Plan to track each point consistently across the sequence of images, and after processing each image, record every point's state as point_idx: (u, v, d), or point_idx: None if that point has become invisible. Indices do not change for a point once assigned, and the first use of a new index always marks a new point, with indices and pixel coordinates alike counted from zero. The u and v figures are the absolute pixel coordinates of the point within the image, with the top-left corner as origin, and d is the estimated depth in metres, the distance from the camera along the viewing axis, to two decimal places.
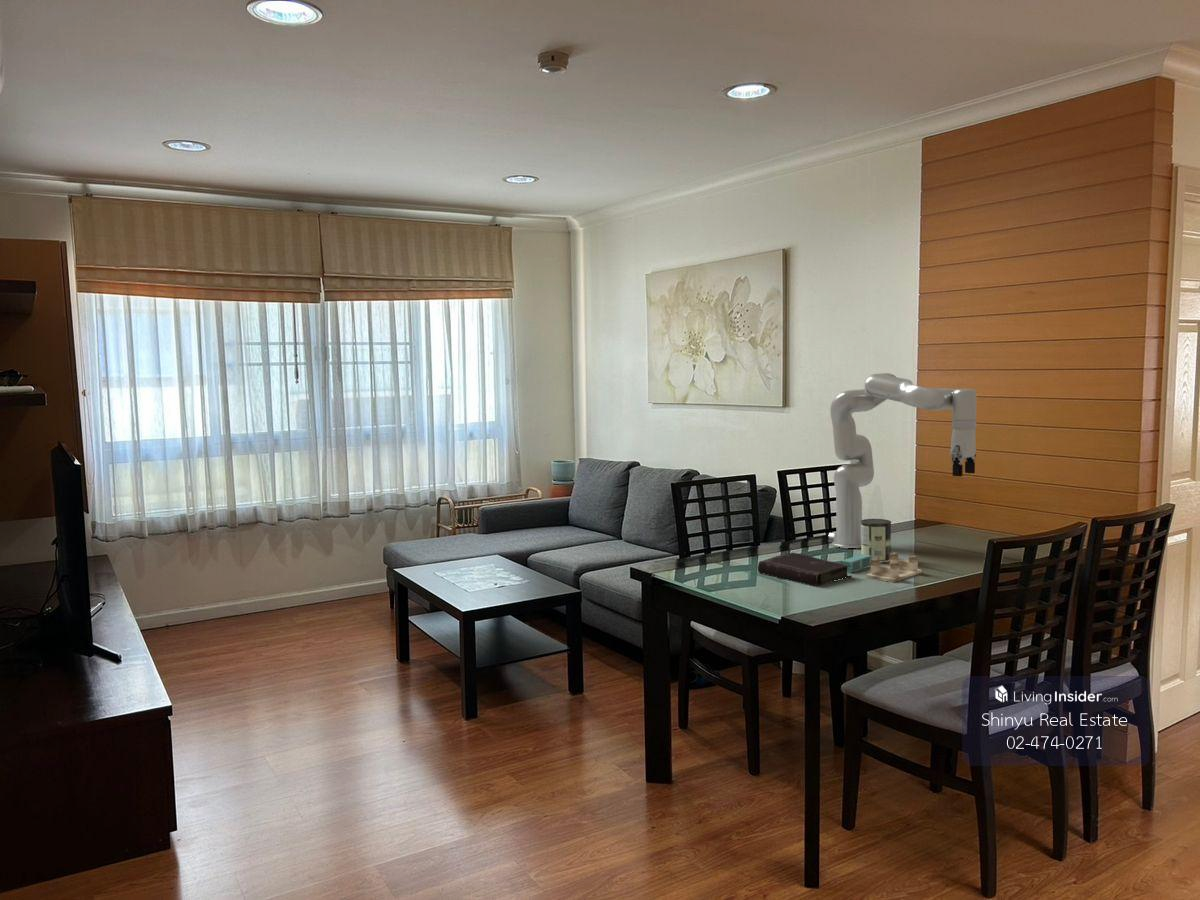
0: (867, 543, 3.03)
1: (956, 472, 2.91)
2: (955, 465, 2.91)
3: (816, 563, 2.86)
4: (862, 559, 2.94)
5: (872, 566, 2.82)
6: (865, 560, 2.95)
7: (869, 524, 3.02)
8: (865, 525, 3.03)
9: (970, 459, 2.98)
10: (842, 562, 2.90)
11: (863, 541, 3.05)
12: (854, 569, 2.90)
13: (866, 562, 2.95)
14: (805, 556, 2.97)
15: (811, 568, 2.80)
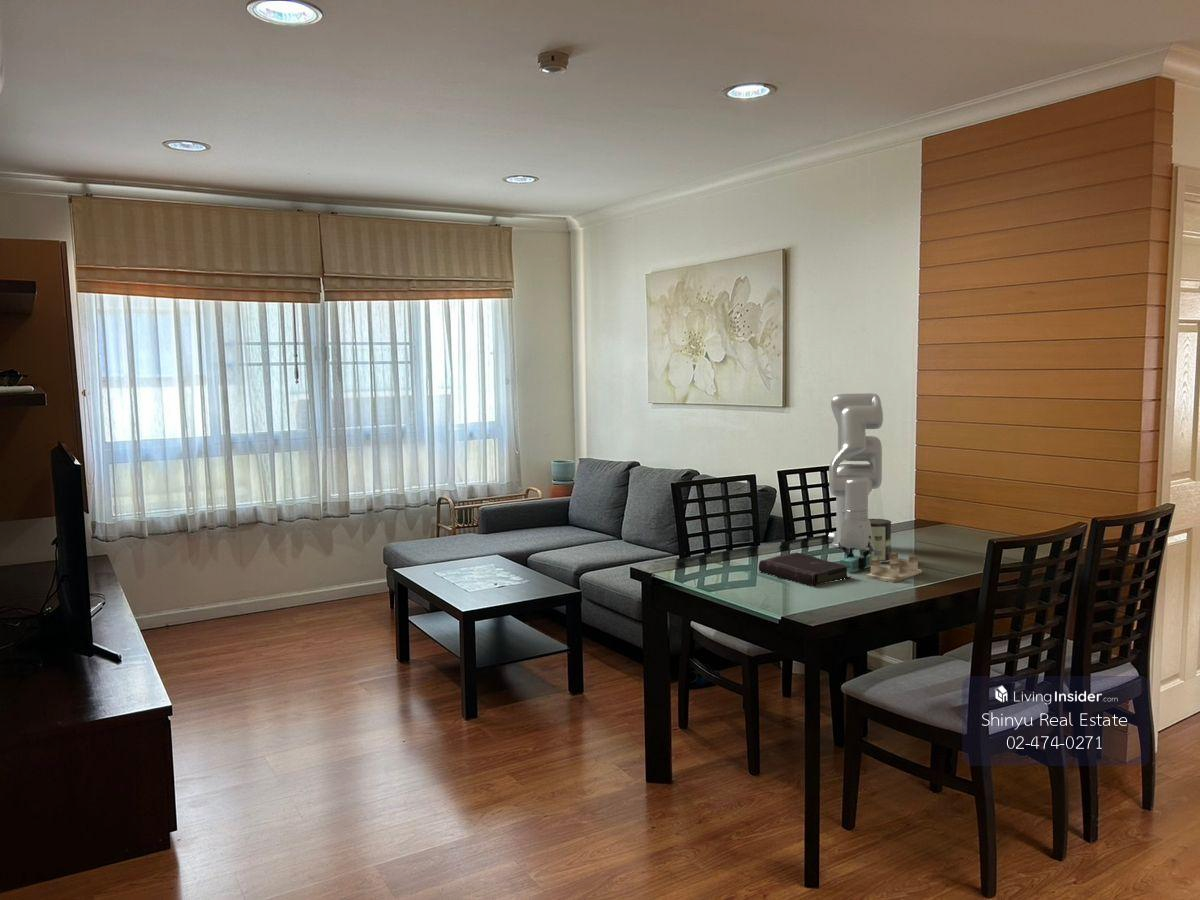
0: None
1: (864, 565, 2.92)
2: (864, 558, 2.92)
3: (816, 563, 2.86)
4: None
5: (872, 566, 2.82)
6: None
7: None
8: None
9: (851, 552, 2.96)
10: (842, 561, 2.90)
11: None
12: (853, 569, 2.90)
13: (866, 561, 2.95)
14: (808, 556, 2.96)
15: (809, 568, 2.80)
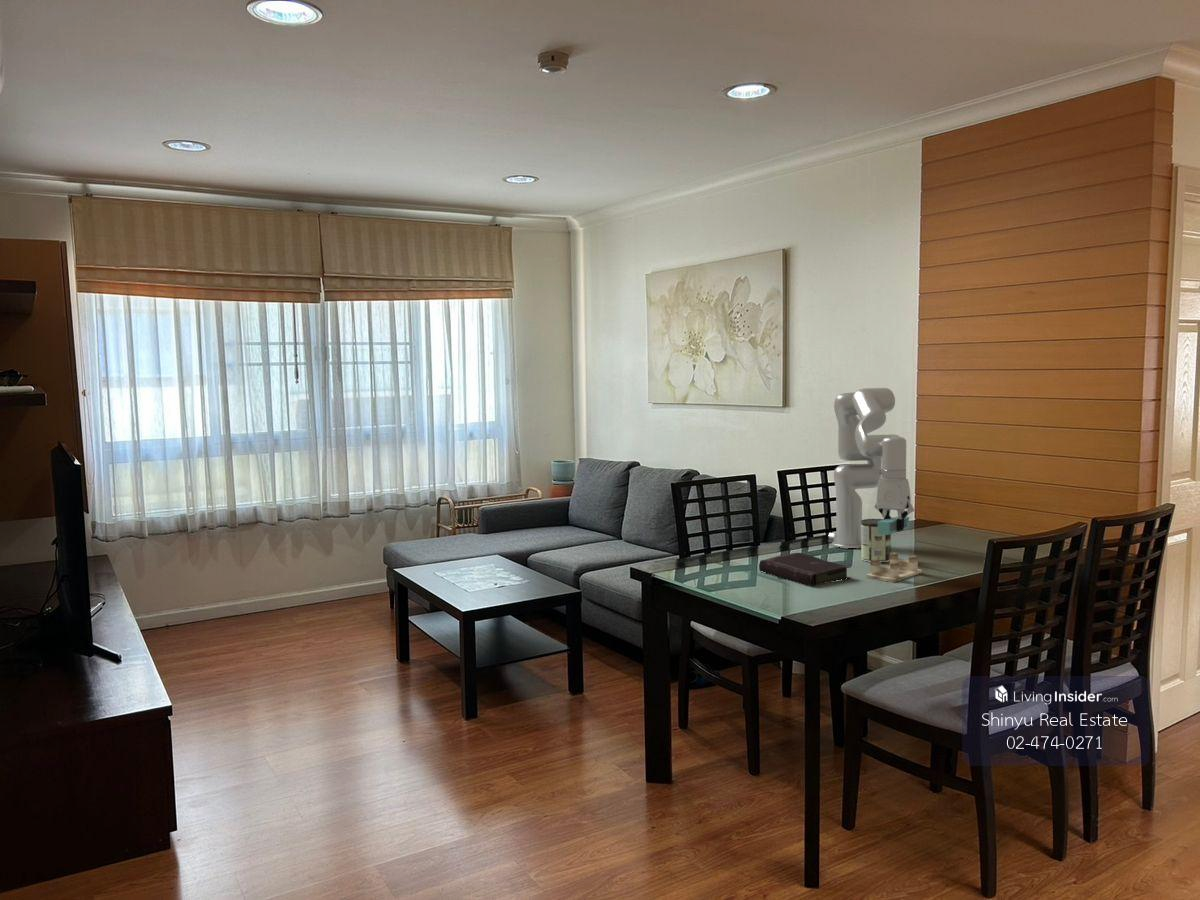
0: (867, 543, 3.03)
1: (902, 526, 2.80)
2: (902, 519, 2.80)
3: (816, 563, 2.86)
4: None
5: (872, 566, 2.82)
6: None
7: (869, 524, 3.02)
8: (865, 525, 3.03)
9: (888, 514, 2.84)
10: (879, 523, 2.79)
11: (863, 541, 3.05)
12: (891, 530, 2.78)
13: (904, 523, 2.84)
14: (809, 556, 2.96)
15: (808, 568, 2.80)
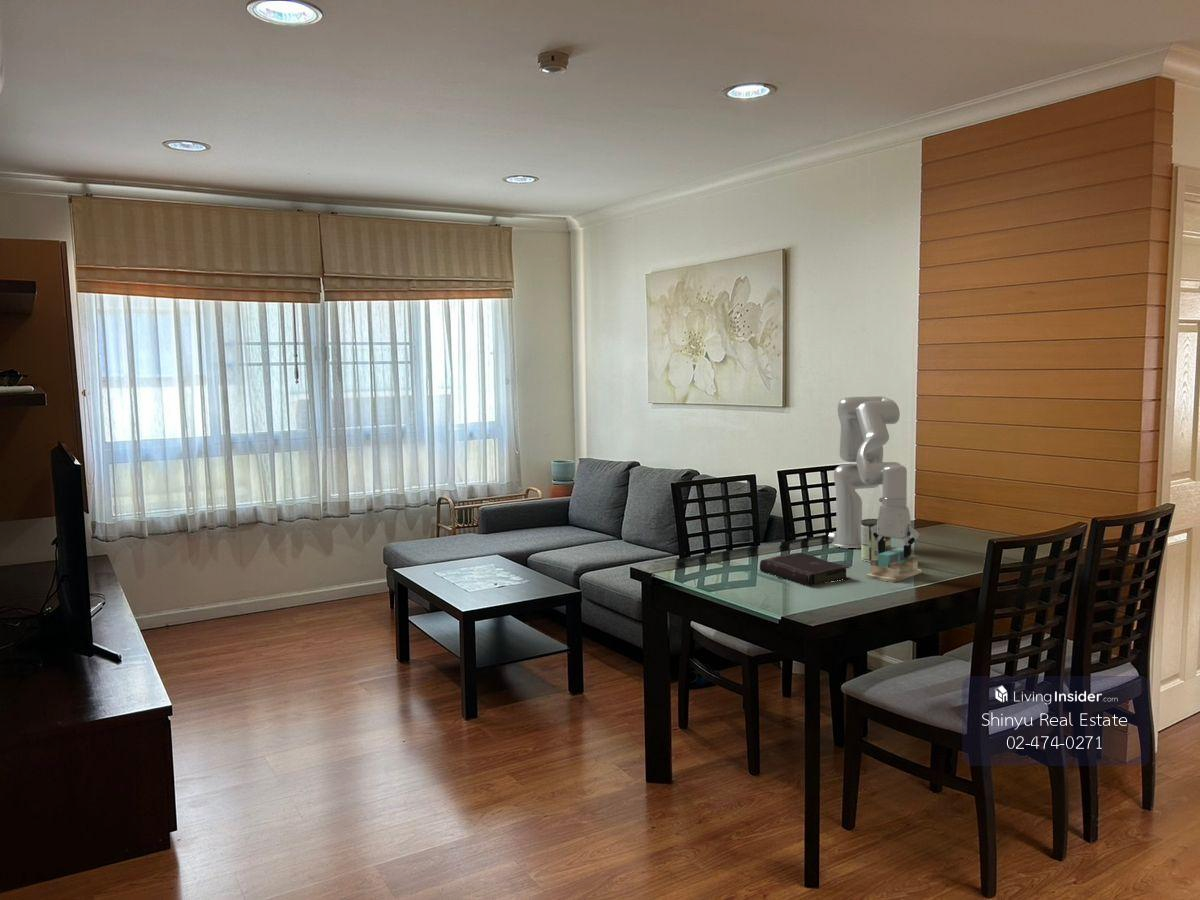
0: (867, 543, 3.03)
1: (910, 553, 2.79)
2: (909, 546, 2.79)
3: (816, 563, 2.86)
4: (900, 552, 2.83)
5: (872, 566, 2.82)
6: (903, 553, 2.84)
7: (869, 524, 3.02)
8: (865, 525, 3.03)
9: (882, 538, 2.87)
10: (879, 555, 2.80)
11: (863, 541, 3.05)
12: None
13: None
14: (810, 556, 2.96)
15: (807, 568, 2.80)
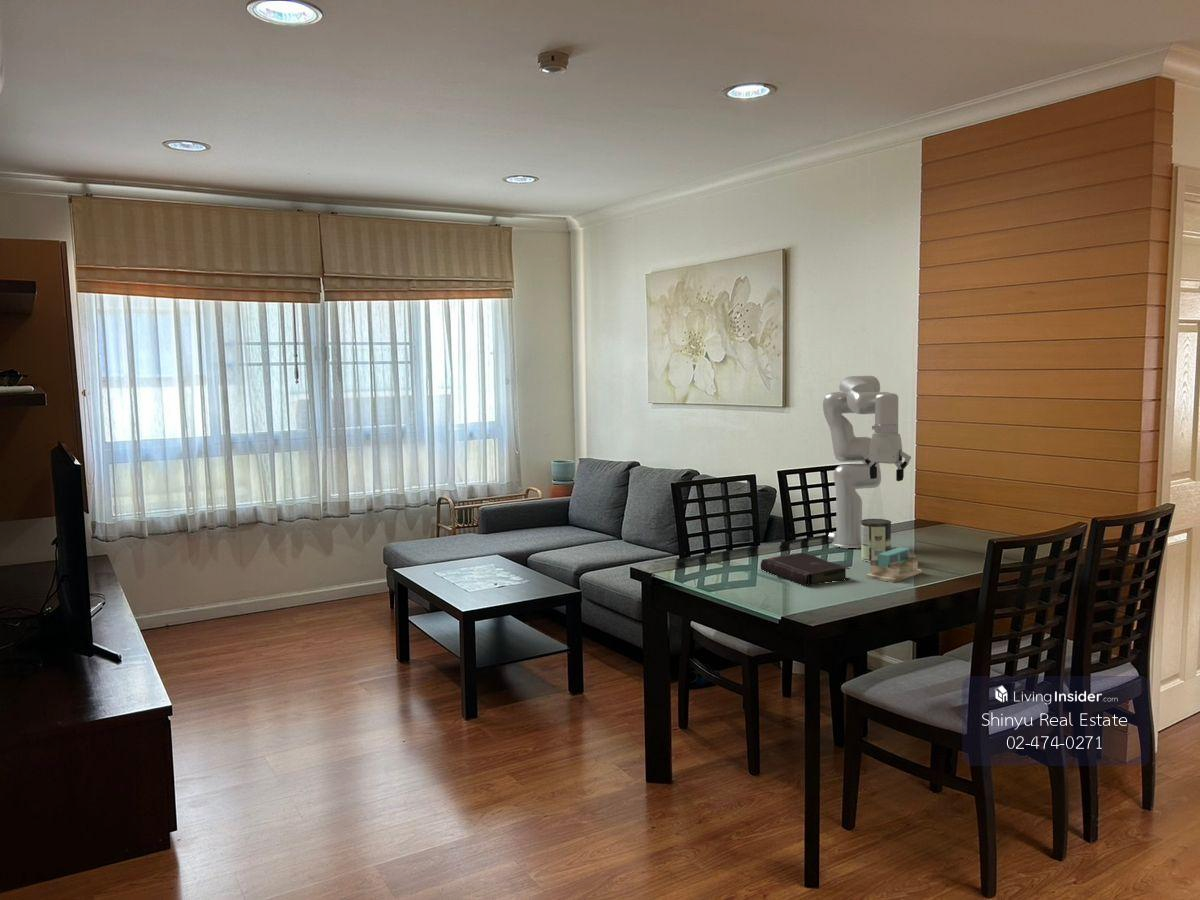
0: (867, 543, 3.03)
1: (902, 476, 2.89)
2: (901, 470, 2.88)
3: (816, 564, 2.86)
4: (900, 552, 2.83)
5: (872, 566, 2.82)
6: (903, 553, 2.84)
7: (869, 524, 3.02)
8: (865, 525, 3.03)
9: (873, 464, 2.97)
10: (879, 555, 2.80)
11: (863, 541, 3.05)
12: None
13: (904, 555, 2.85)
14: (812, 556, 2.96)
15: (806, 568, 2.80)
